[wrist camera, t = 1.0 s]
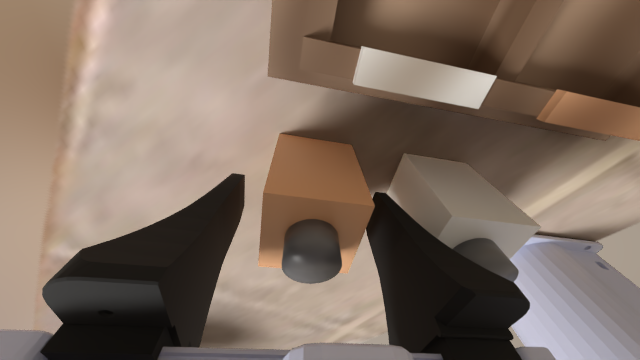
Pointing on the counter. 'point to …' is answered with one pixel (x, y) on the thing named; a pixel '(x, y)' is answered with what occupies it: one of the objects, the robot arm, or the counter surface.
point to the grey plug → (462, 211)
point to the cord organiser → (473, 57)
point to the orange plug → (313, 209)
